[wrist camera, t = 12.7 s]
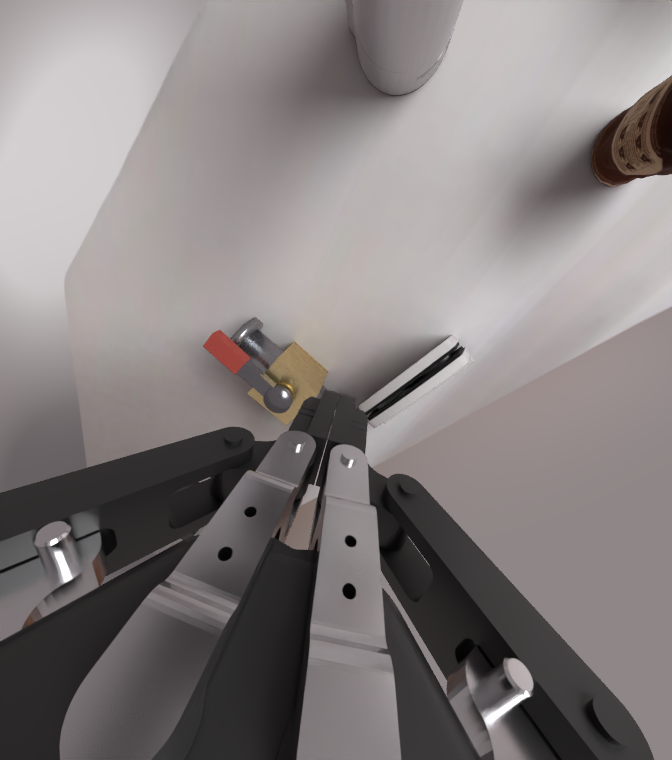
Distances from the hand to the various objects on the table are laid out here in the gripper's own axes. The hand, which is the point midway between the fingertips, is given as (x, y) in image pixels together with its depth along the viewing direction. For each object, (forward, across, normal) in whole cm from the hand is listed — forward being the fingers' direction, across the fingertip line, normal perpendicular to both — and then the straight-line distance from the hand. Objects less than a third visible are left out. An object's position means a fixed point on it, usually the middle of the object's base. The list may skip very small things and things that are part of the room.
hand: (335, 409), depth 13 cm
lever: (+19, +12, +10) cm, 25 cm away
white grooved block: (+28, -9, +8) cm, 31 cm away
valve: (+28, +8, +12) cm, 32 cm away
